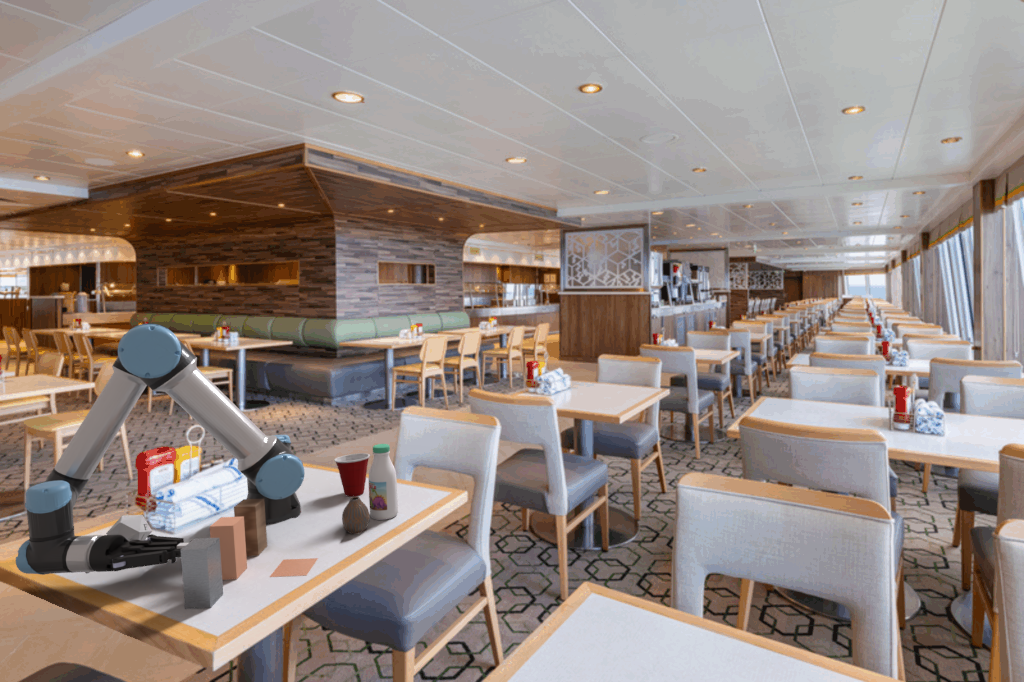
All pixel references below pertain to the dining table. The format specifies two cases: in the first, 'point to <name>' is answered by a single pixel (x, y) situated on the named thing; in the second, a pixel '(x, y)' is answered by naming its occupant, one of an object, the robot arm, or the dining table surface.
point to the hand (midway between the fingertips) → (208, 549)
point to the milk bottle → (382, 485)
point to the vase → (355, 516)
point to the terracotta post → (231, 545)
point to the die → (131, 527)
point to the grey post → (201, 573)
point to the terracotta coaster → (294, 567)
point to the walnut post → (253, 524)
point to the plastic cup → (353, 472)
